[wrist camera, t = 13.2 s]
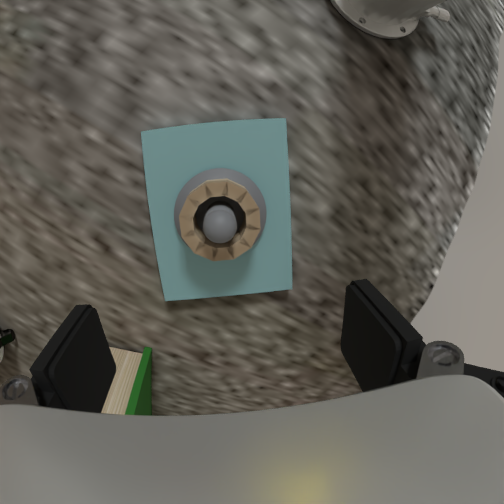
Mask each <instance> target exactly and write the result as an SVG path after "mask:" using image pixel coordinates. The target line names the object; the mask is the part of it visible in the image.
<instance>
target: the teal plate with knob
mask: <svg viewBox="0 0 504 504" xmlns="http://www.w3.org/2000/svg"><path fill="white" fill-rule="evenodd" d="M141 138H142V149H143V160H144V170H145V179H146V187H147V195H148V203H149V210H150V217H151V224H152V231H153V237H154V243H155V249H156V255H157V261H158V266H159V272H160V277H161V282H162V287H163V292H164V297H165V301H173V300H186V299H198V298H210V297H221V296H231V295H242V294H252V293H261V292H271V291H280V290H288V289H292V245H291V211H290V186H289V164H288V146H287V129H286V118H274V119H251V120H235V121H222V122H211V123H201V124H192V125H183V126H176V127H168V128H161V129H155V130H148V131H142V132H141ZM225 178H227V179H229V180H231V181H234V182H236V183H238V184H240V185H242V186H244V187H245V188H246V189H247V191H248V192H249V194H250V195H251V197H252V198H253V200H254V201H255V202H256V204H257V206H258V207H259V211H260V227H261V230H260V232H259V234H258V236H257V237H256V239H255V241H254V243H253V245H252V247H251V248H250V249H249V250H247V251H246V252H244V253H243V254H241V255H240V256H238V257H237V258H235V259H232V260H222V261H211V260H209V259H207V258H204V257H202V256H200V255H197V254H195V253H194V252H193V251H192V250H191V248H190V247H189V246H188V245H187V243H186V242H185V241H184V239H183V238H182V237H181V229H180V221H179V215H180V212H181V210H182V208H183V205H184V203H185V201H186V199H187V196H188V195H189V194H190V192H191V191H193V190H194V189H195V188H197V187H198V186H199V185H201V184H202V183H204V182H205V181H206V180H214V179H225ZM196 219H197V224H198V226H199V227H200V228H201V230H202V231H203V232H204V234H205V235H206V237H207V238H208V239H209V240H210V241H212V242H214V243H225V242H228V241H229V240H231V239H232V238H233V237H234V235H235V233H236V232H237V231H239V229H240V227H241V225H242V223H243V221H244V210H243V209H242V207H241V206H240V204H239V203H238V202H237V201H235V200H233V199H230V198H228V197H226V196H218V197H210V198H208V199H207V200H206V201H204V202H203V203H201V204H200V205H199V206H198V208H197V210H196Z"/></svg>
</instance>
